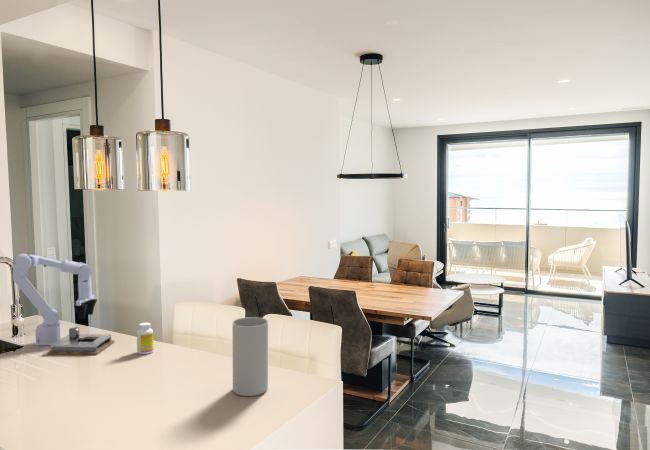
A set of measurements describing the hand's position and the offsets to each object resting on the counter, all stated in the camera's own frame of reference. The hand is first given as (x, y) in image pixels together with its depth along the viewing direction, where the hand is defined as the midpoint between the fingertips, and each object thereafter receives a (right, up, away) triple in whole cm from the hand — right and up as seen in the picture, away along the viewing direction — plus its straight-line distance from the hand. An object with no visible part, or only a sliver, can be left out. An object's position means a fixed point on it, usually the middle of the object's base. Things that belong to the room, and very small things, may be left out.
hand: (86, 316), depth 225 cm
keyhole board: (+5, -12, -14) cm, 19 cm away
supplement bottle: (+36, -12, -19) cm, 42 cm away
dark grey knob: (+2, -10, -15) cm, 18 cm away
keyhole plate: (+6, -11, -14) cm, 19 cm away
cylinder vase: (+88, -16, -57) cm, 106 cm away
